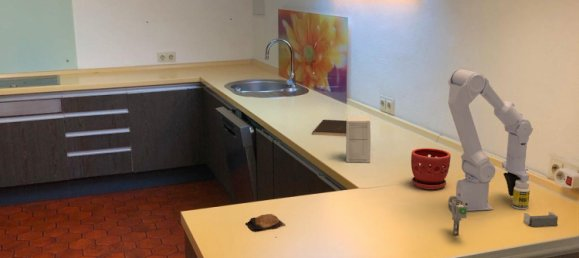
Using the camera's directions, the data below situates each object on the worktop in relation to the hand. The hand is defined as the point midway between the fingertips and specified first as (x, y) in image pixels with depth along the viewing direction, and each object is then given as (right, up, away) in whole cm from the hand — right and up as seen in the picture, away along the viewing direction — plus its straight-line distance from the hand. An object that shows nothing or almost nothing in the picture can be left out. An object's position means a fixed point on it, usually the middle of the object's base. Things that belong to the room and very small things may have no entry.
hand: (512, 195), depth 200 cm
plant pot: (-23, +2, +16) cm, 28 cm away
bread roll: (-79, -8, -16) cm, 81 cm away
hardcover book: (-51, +20, +92) cm, 107 cm away
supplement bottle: (+1, -3, -5) cm, 6 cm away
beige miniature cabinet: (-45, +9, +46) cm, 65 cm away
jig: (+2, -6, -17) cm, 19 cm away
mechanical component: (-25, -9, -24) cm, 36 cm away
